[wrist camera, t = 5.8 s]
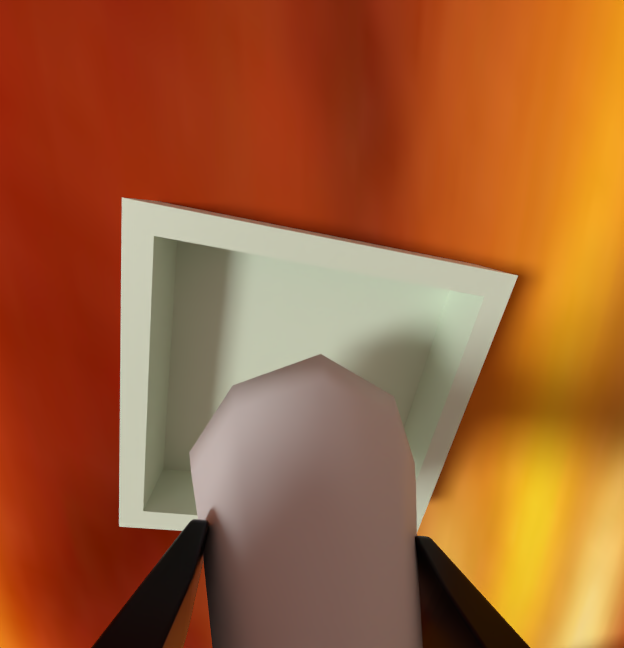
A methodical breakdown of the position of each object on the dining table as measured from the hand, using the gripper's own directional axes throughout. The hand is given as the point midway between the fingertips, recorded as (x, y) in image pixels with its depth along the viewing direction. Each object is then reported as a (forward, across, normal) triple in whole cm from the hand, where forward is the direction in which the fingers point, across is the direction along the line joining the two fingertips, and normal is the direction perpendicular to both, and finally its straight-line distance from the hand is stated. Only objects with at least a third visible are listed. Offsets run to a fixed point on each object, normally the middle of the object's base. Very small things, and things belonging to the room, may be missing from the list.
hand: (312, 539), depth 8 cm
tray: (+8, 0, 0) cm, 8 cm away
